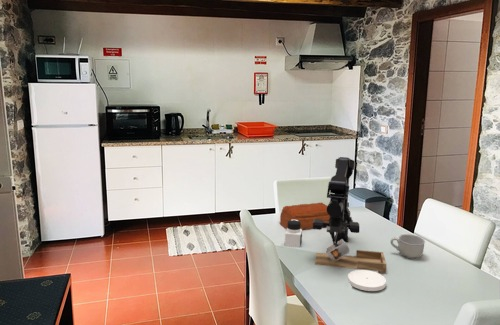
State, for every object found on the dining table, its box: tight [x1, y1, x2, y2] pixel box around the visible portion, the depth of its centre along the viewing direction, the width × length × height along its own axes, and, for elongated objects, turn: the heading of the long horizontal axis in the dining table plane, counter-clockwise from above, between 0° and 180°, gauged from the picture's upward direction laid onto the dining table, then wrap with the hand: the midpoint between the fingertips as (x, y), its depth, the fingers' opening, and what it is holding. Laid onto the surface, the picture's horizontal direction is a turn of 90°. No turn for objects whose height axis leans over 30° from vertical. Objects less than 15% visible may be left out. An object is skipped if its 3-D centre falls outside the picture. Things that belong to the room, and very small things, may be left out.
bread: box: [279, 202, 330, 231], centre depth 219 cm, size 16×27×11 cm, turn 109°
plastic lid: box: [347, 269, 387, 292], centre depth 158 cm, size 14×14×2 cm
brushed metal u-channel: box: [325, 239, 351, 263], centre depth 174 cm, size 5×5×8 cm
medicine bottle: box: [284, 220, 303, 248], centre depth 191 cm, size 7×7×12 cm
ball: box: [331, 250, 338, 258], centre depth 175 cm, size 3×3×3 cm
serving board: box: [314, 249, 387, 275], centre depth 174 cm, size 12×28×4 cm, turn 78°
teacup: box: [390, 233, 426, 259], centre depth 183 cm, size 14×11×8 cm
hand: (334, 245), depth 174 cm, fingers closed
